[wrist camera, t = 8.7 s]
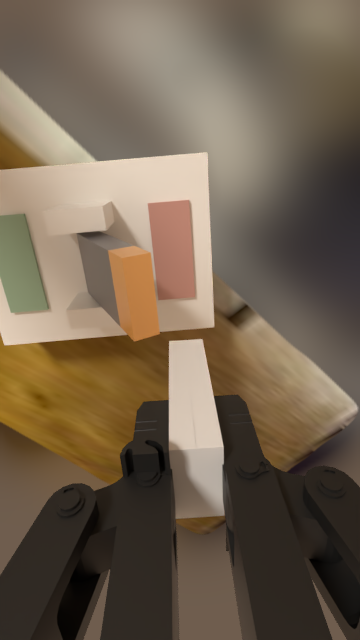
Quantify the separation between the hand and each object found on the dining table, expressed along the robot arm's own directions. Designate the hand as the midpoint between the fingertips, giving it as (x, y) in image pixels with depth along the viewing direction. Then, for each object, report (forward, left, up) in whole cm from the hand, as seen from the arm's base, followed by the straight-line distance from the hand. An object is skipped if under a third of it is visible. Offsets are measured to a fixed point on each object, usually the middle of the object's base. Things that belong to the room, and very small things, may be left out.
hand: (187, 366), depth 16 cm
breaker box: (-8, 0, -27) cm, 29 cm away
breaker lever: (-8, 0, -20) cm, 22 cm away
